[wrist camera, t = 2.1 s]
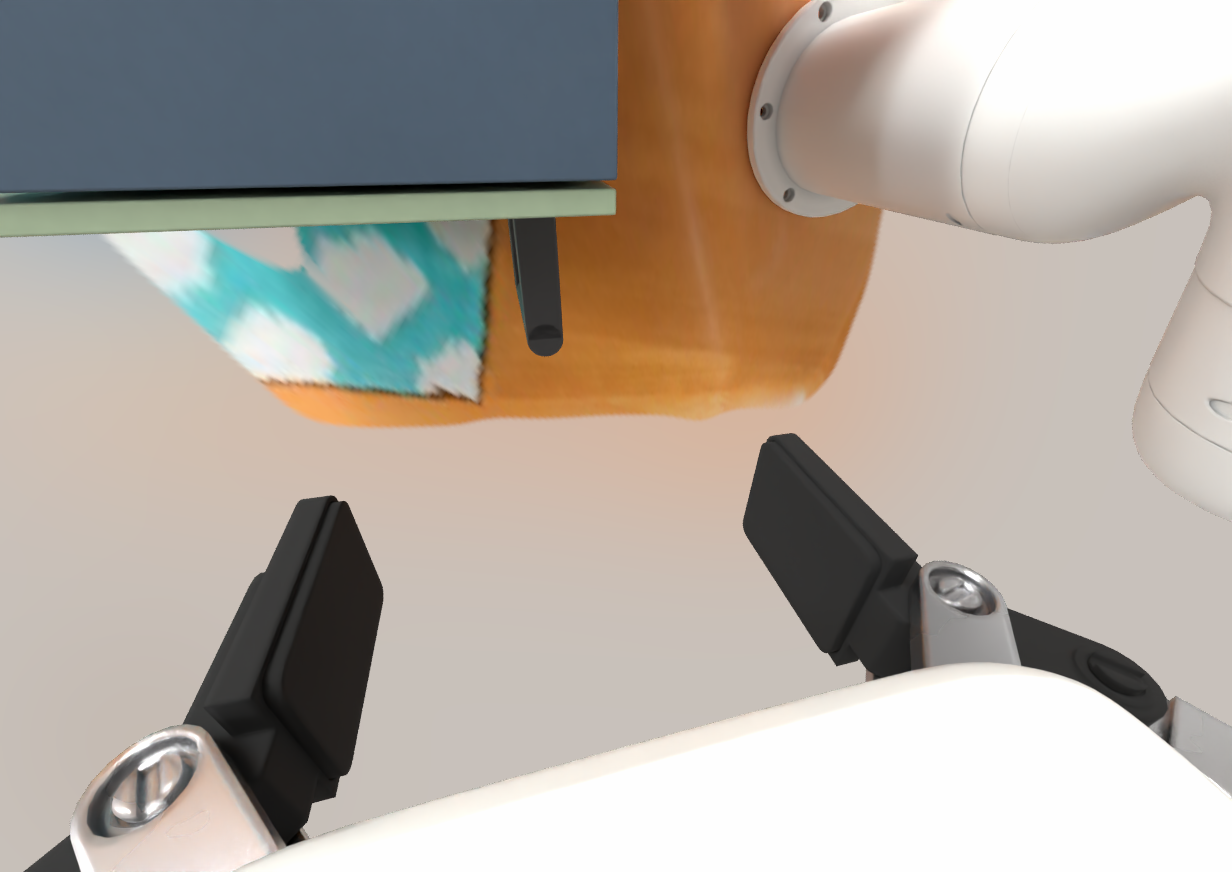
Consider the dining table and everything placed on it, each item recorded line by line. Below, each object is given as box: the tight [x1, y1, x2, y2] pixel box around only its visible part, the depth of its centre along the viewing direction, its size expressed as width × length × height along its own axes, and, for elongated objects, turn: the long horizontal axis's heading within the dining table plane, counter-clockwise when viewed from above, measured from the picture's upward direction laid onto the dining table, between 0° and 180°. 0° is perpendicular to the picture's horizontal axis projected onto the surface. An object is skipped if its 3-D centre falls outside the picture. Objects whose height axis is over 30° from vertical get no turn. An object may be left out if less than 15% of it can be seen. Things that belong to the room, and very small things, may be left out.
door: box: [0, 181, 616, 356], centre depth 22 cm, size 7×18×17 cm, turn 90°
